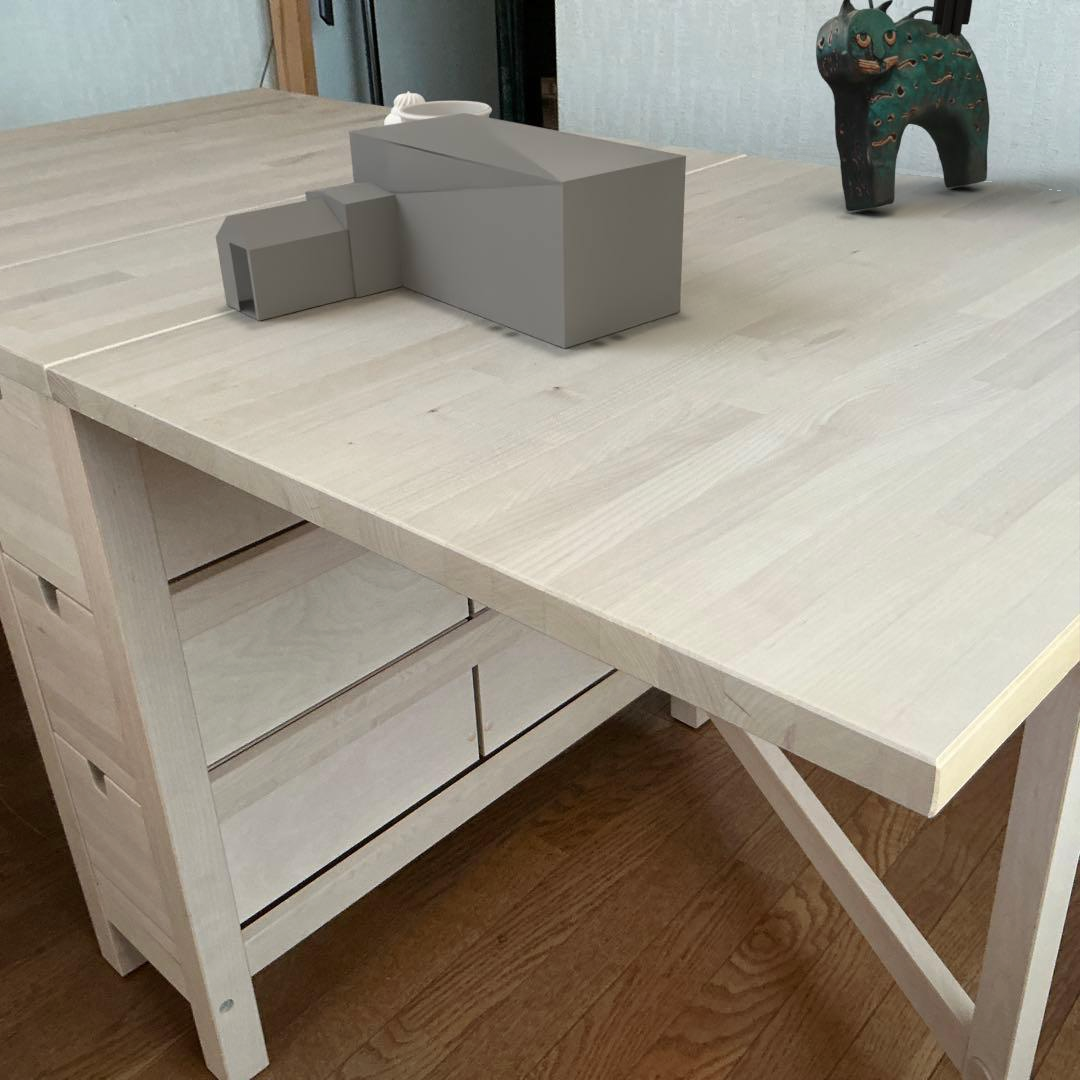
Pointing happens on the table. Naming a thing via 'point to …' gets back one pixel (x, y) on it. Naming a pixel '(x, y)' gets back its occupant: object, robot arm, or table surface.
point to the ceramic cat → (900, 98)
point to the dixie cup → (442, 109)
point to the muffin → (401, 102)
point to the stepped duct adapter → (476, 229)
